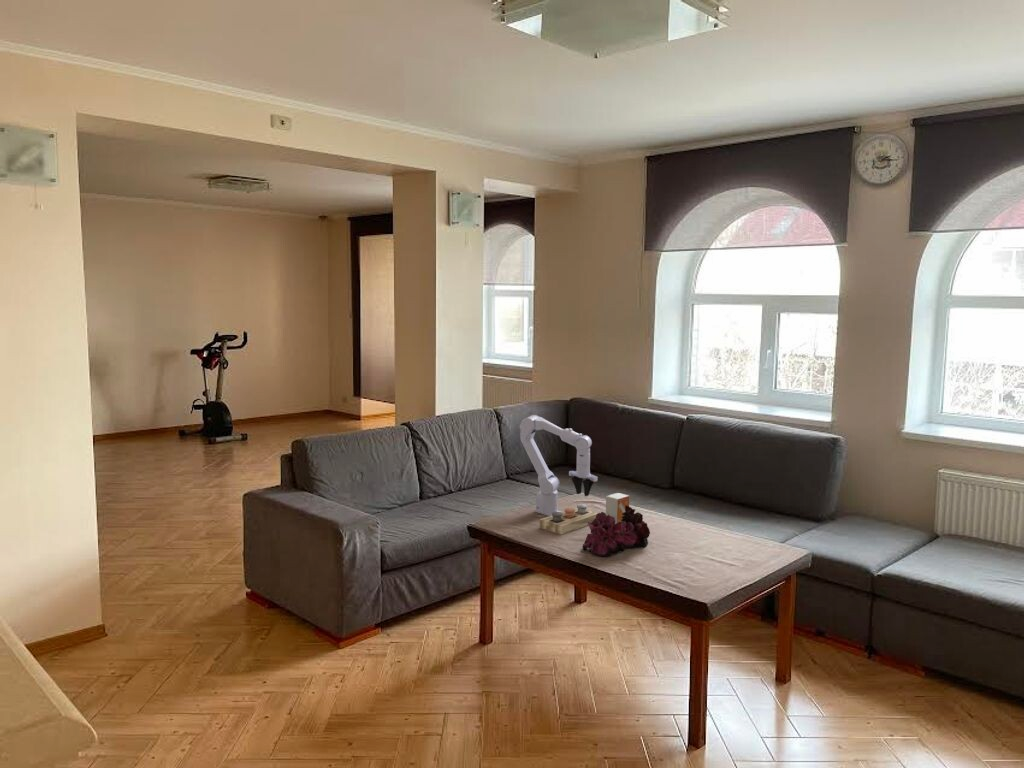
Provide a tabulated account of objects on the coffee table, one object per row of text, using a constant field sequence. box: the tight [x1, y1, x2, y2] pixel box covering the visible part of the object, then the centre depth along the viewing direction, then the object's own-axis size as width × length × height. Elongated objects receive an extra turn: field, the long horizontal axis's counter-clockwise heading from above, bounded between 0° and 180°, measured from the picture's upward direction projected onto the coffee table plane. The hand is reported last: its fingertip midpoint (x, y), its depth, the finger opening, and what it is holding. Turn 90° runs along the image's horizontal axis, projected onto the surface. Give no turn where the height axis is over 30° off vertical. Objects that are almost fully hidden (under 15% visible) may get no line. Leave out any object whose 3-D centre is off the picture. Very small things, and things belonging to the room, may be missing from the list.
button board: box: [539, 507, 599, 535], centre depth 311 cm, size 12×24×4 cm, turn 135°
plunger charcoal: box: [552, 512, 562, 523], centre depth 305 cm, size 4×4×4 cm
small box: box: [605, 492, 630, 524], centre depth 309 cm, size 8×6×13 cm
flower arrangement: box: [582, 505, 651, 559], centre depth 284 cm, size 31×20×15 cm, turn 139°
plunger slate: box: [576, 503, 588, 515], centre depth 317 cm, size 4×4×4 cm
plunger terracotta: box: [564, 507, 575, 519], centre depth 311 cm, size 4×4×4 cm
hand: (582, 494), depth 321 cm, fingers open, 4 cm apart
